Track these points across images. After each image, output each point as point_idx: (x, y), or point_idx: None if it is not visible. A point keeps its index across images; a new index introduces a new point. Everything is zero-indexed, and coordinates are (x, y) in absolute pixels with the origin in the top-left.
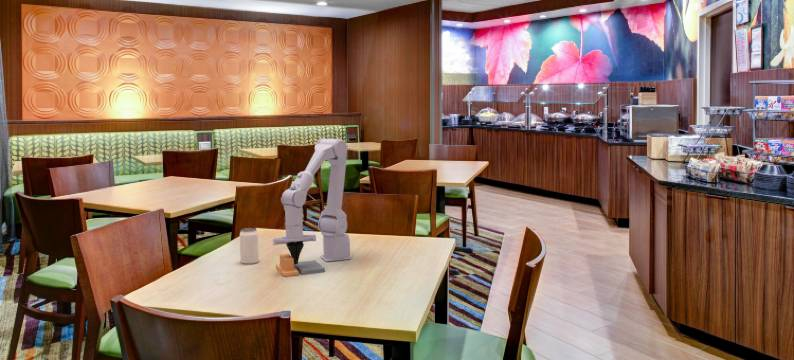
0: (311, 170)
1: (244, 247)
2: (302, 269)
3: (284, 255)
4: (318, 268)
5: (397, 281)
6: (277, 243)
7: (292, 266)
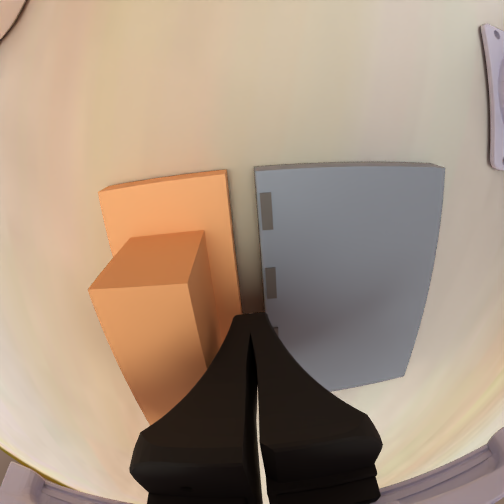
0: None
1: None
2: None
3: (144, 349)
4: (377, 373)
5: (475, 437)
6: (60, 501)
7: None
